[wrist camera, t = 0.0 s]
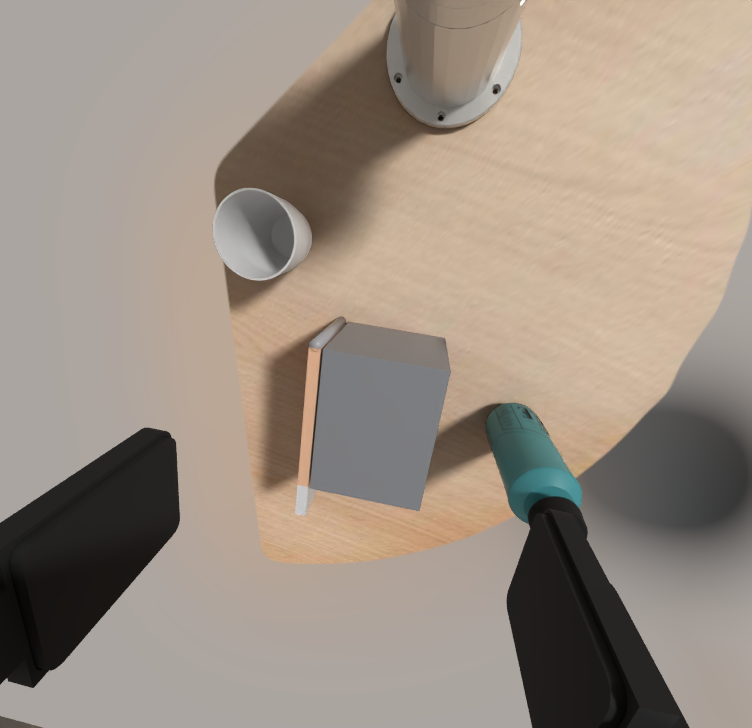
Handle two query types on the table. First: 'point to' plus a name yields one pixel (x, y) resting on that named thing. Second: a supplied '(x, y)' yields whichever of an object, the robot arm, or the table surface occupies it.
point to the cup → (260, 234)
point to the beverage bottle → (531, 465)
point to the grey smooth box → (378, 414)
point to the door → (312, 413)
